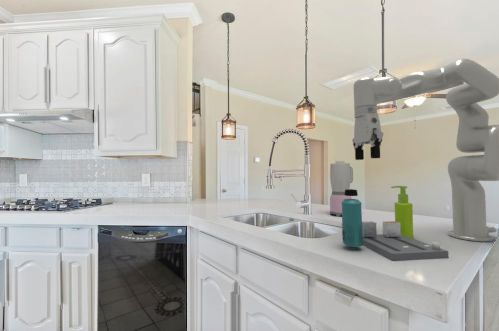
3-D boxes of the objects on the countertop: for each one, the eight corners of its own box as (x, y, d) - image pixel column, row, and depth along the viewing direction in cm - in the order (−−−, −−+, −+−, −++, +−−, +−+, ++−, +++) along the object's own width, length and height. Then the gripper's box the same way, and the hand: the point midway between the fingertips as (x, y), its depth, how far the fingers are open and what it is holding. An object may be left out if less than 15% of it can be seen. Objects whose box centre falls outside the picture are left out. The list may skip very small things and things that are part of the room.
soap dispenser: (393, 233, 98) (392, 185, 98) (413, 236, 93) (412, 185, 94) (391, 236, 93) (390, 186, 94) (412, 239, 89) (410, 186, 89)
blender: (339, 217, 132) (338, 160, 133) (325, 214, 143) (324, 161, 144) (361, 215, 137) (360, 161, 138) (346, 212, 148) (345, 161, 149)
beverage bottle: (367, 250, 77) (366, 189, 78) (351, 252, 75) (349, 190, 76) (353, 244, 83) (352, 188, 84) (337, 246, 82) (336, 188, 82)
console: (398, 238, 90) (398, 228, 90) (448, 257, 70) (448, 244, 70) (354, 240, 88) (354, 230, 88) (392, 260, 68) (392, 246, 68)
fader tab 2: (395, 234, 87) (395, 220, 87) (400, 236, 84) (400, 222, 85) (382, 235, 86) (382, 221, 87) (387, 237, 84) (387, 222, 84)
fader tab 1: (372, 234, 87) (372, 221, 87) (376, 236, 84) (376, 222, 85) (359, 235, 86) (359, 221, 87) (363, 237, 84) (363, 223, 84)
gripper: (391, 106, 79) (393, 157, 78) (361, 118, 96) (363, 160, 95) (370, 106, 78) (372, 157, 77) (344, 118, 95) (345, 160, 95)
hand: (367, 159), depth 86 cm, fingers open, 9 cm apart
